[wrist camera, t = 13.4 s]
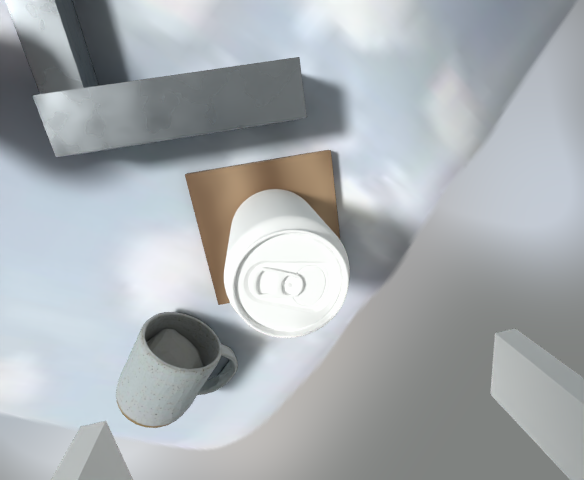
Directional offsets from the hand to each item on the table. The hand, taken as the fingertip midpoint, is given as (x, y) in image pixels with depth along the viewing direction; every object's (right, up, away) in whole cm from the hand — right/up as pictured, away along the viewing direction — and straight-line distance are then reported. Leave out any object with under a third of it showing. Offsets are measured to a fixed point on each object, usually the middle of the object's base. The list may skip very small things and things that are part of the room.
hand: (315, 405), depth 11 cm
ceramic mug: (-12, -6, +24) cm, 27 cm away
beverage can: (-2, +7, +20) cm, 21 cm away
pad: (-3, +7, +21) cm, 22 cm away
